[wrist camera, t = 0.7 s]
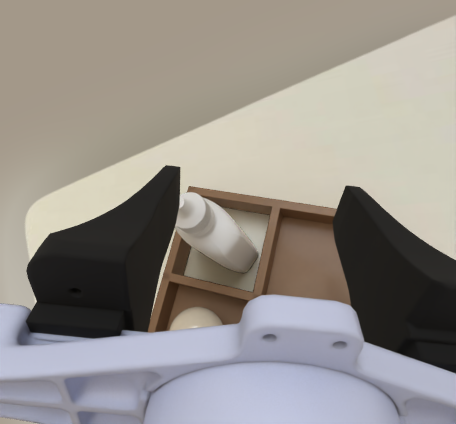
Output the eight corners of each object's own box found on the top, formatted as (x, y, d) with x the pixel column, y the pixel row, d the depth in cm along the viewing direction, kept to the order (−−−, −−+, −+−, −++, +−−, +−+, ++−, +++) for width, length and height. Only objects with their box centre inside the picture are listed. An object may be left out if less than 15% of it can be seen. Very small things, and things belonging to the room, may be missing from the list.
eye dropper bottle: (239, 209, 32) (195, 147, 21) (264, 265, 30) (230, 228, 19) (196, 229, 33) (132, 179, 22) (218, 286, 30) (159, 262, 19)
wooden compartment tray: (347, 441, 25) (350, 453, 22) (148, 373, 30) (133, 377, 27) (378, 225, 29) (383, 215, 26) (198, 196, 34) (188, 185, 31)
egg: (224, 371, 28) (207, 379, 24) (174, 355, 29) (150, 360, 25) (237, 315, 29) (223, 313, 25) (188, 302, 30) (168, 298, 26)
